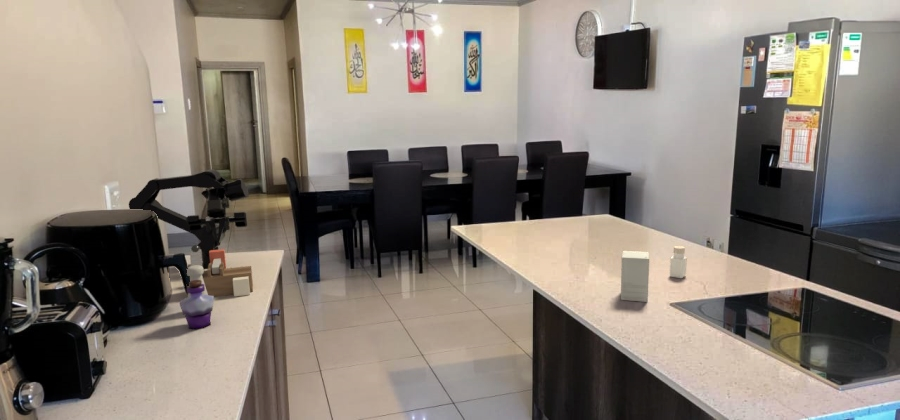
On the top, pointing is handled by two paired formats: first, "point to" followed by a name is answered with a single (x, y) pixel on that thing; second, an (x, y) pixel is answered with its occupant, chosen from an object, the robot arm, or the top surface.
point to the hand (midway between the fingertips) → (218, 242)
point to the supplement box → (635, 276)
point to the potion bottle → (197, 306)
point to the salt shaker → (196, 275)
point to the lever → (196, 256)
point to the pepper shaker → (678, 263)
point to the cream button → (241, 286)
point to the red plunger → (217, 260)
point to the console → (225, 279)
